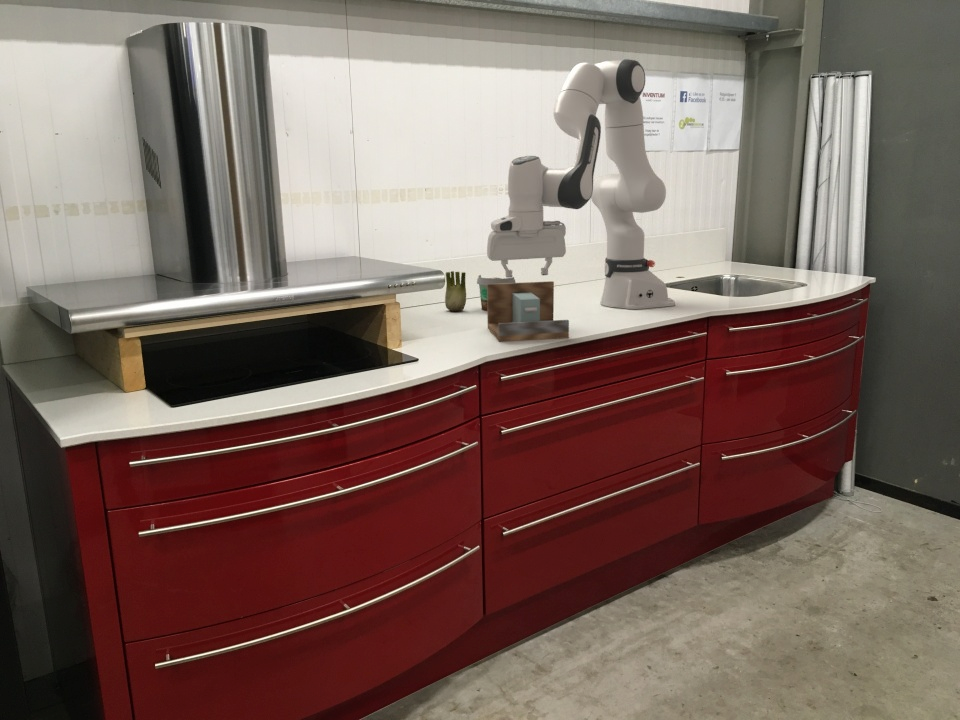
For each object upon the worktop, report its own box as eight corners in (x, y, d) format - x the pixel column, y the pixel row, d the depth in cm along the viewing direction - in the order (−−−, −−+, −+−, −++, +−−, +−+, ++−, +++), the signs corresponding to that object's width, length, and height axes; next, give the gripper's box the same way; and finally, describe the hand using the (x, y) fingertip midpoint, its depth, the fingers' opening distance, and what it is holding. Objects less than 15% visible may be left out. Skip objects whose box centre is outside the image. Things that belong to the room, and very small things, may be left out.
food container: (469, 310, 237) (469, 277, 235) (479, 307, 243) (479, 274, 240) (506, 314, 232) (506, 280, 229) (515, 310, 237) (515, 277, 235)
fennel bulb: (468, 310, 238) (467, 270, 235) (459, 313, 234) (458, 272, 231) (451, 308, 241) (450, 269, 238) (442, 311, 237) (441, 271, 234)
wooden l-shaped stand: (552, 324, 216) (552, 281, 213) (568, 337, 201) (569, 291, 198) (487, 328, 213) (487, 284, 210) (499, 341, 198) (498, 294, 195)
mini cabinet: (530, 321, 213) (530, 292, 211) (540, 330, 203) (540, 299, 201) (512, 322, 213) (512, 293, 211) (521, 331, 202) (521, 300, 200)
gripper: (562, 219, 206) (562, 271, 210) (484, 222, 203) (486, 276, 207) (569, 221, 200) (569, 275, 204) (489, 225, 197) (491, 280, 201)
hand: (526, 276), depth 205 cm, fingers open, 8 cm apart
